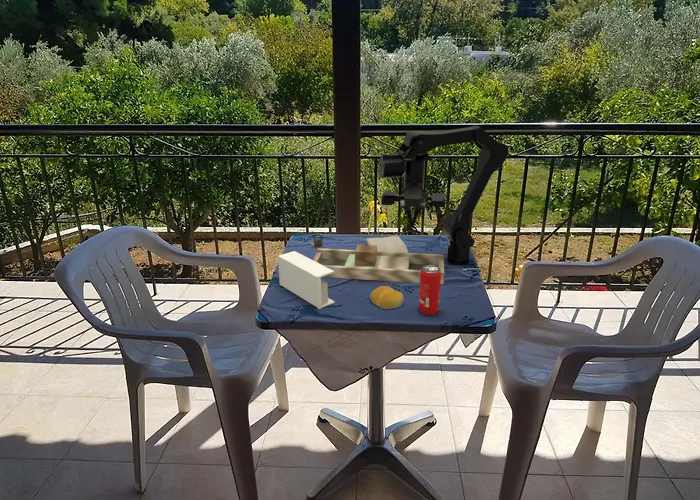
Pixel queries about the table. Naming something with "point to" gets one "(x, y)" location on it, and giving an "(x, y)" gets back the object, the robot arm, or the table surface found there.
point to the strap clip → (317, 243)
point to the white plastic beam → (304, 278)
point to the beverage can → (429, 289)
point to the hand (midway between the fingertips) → (412, 226)
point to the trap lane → (378, 265)
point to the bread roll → (387, 297)
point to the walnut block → (366, 255)
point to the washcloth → (388, 244)
